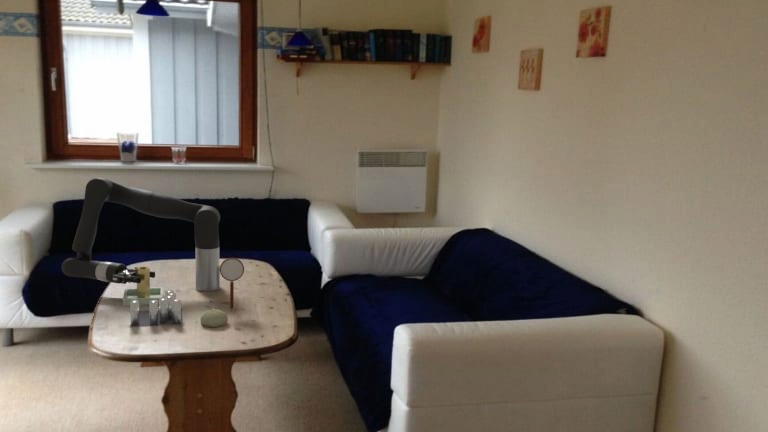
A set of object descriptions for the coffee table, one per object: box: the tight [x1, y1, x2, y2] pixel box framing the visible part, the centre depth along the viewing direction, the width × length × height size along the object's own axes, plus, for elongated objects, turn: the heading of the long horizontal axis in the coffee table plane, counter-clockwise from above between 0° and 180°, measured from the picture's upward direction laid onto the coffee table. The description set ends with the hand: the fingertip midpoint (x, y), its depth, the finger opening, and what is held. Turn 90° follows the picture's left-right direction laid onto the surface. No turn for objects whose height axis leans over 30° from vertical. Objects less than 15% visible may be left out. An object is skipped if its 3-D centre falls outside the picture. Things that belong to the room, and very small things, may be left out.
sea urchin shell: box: [199, 308, 229, 328], centre depth 240 cm, size 9×8×8 cm
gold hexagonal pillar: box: [136, 266, 151, 298], centre depth 260 cm, size 5×4×12 cm
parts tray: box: [122, 286, 164, 307], centre depth 261 cm, size 14×14×3 cm
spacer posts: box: [129, 289, 182, 326], centre depth 240 cm, size 16×14×8 cm
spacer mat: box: [129, 308, 184, 328], centre depth 242 cm, size 17×17×1 cm
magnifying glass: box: [219, 257, 245, 312], centre depth 253 cm, size 9×2×20 cm, turn 102°
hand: (147, 277), depth 259 cm, fingers open, 8 cm apart
